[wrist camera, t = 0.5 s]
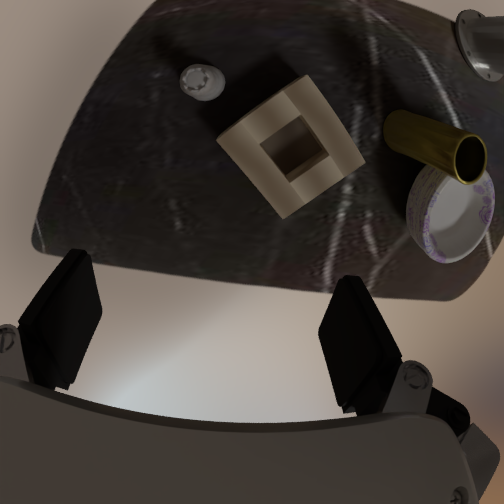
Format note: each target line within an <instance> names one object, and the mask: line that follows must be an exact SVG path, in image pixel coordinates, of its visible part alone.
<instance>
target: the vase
mask: <svg viewBox="0 0 504 504" xmlns="http://www.w3.org/2000/svg"><path fill="white" fill-rule="evenodd" d="M383 135H384V139H385V141H386V143H387V145H388V146H389V147H390V148H391V149H392V150H394V151H395V152H397V153H402V154H404V155H407V156H410V157H412V158H414V159H416V160H418V161H420V162H422V163H424V164H427V165H429V166H431V167H433V168H435V169H437V170H439V171H441V172H443V173H445V174H446V175H448V176H450V177H452V178H453V179H455V180H457V181H458V182H460V183H462V184H464V185H471V184H474V183H476V182H477V181H478V180H479V179H480V178H481V177H482V175H483V173H484V171H485V168H486V164H487V149H486V146H485V143H484V142H483V140H482V139H481V138H480V136H478V135H477V134H474V133H471V132H468V131H465V130H462V129H459V128H456V127H454V126H451V125H448V124H445V123H442V122H439V121H436V120H433V119H430V118H427V117H424V116H421V115H417V114H413V113H410V112H409V111H406V110H403V109H400V110H395V111H393V112H391V113H390V114H389V115H388V116H387V118H386V120H385V122H384V125H383Z"/></svg>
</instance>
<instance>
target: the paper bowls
mask: <svg viewBox="0 0 504 504" xmlns="http://www.w3.org/2000/svg"><path fill="white" fill-rule="evenodd" d="M494 203H495V192H494V187H493V183H492V180H491V178H490V176H489V174H488V173H487V171H486V170H485V171H484V173H483V175H482V177H481V178H480V179H479V180H478V181H477V182H476V183H474V184H471V185H464V184H462V183H460V182H458V181H457V180H455V179H453V178H452V177H450V176H448V175H446V174H445V173H443V172H441V171H439V170H437V169H435V168H433V167H431V166H429V165H426V166H425V167H424V168H423V169H422V170H421V171H420V173H419V174H418V176H417V177H416V179H415V181H414V183H413V186H412V188H411V190H410V193H409V196H408V201H407V206H406V221H407V227H408V230H409V232H410V234H411V236H412V237H413V239H414V240H415V241H416V242H417V244H418V245H419V246H420V247H421V248H422V249H423V250H424V251H425V253H426V254H427V255H428V256H429V257H431V258H432V259H433V260H435V261H437V262H441V263H451V262H455V261H458V260H460V259H462V258H464V257H465V256H467V255H468V254H469V253H470V252H471V251H473V250H474V248H475V247H476V246H477V245H478V244H479V243H480V241H481V240H482V238H483V237H484V235H485V233H486V231H487V229H488V227H489V225H490V222H491V219H492V216H493V211H494Z"/></svg>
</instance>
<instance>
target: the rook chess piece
mask: <svg viewBox="0 0 504 504" xmlns="http://www.w3.org/2000/svg"><path fill="white" fill-rule="evenodd" d="M180 86H181V88H182V90H183V91H184V92H185V93H187V94H188V95H190V96H192V97H194V98H195V99H197V100H201V101H208V100H213V99H214V98H216V97H218V96H219V95H220V94H221V92H222V91H223V90H224V86H225V78H224V75H223V74H222V72H221V71H220V70H219V69H217V68H216V67H214V66H209V65H202V64H195V65H191V66H189V67H188V68H186V69H185V70H184V71H183V73H182V74H181V77H180Z"/></svg>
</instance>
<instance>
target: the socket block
mask: <svg viewBox="0 0 504 504" xmlns="http://www.w3.org/2000/svg"><path fill="white" fill-rule="evenodd" d="M216 141H217V142H218V143H219V144H220V145H221V147H222V148H223V149H224V150H225V151H226V152H227V153H228V155H229V156H230V157H231V158H232V159H233V160H234V161H235V163H236V164H237V165H238V166H239V167H240V168H241V170H242V171H243V172H244V173H245V174H246V175H247V177H248V178H249V179H250V180H251V181H252V183H253V184H254V185H255V186H256V187H257V188H258V190H259V191H260V192H261V193H262V194H263V196H264V197H265V198H266V199H267V200H268V202H269V203H270V204H271V205H272V207H273V208H274V209H275V210H276V211H277V213H278V214H279V215H280V216H281V218H282V219H284V218H286V217H287V216H289V215H290V214H292V213H293V212H294V211H296V210H297V209H299V208H300V207H302V206H303V205H305V204H306V203H307V202H309V201H310V200H312V199H313V198H315V197H316V196H318V195H319V194H320V193H322V192H323V191H325V190H326V189H328V188H329V187H331V186H332V185H334V184H335V183H336V182H338V181H339V180H341V179H342V178H344V177H345V176H347V175H348V174H350V173H351V172H353V171H354V170H355V169H357V168H358V167H360V166H361V165H363V164H364V163H366V162H365V161H364V159H363V157H362V155H361V154H360V152H359V150H358V149H357V147H356V145H355V144H354V142H353V140H352V139H351V137H350V136H349V134H348V132H347V131H346V129H345V128H344V126H343V124H342V123H341V121H340V120H339V118H338V117H337V115H336V114H335V112H334V111H333V109H332V108H331V107H330V105H329V104H328V102H327V101H326V99H325V98H324V97H323V95H322V94H321V92H320V91H319V90H318V88H317V87H316V86H315V84H314V83H313V82H312V80H311V79H310V78H309V76H308V75H304V76H301V77H299V78H297V79H296V80H294V81H293V82H291V83H290V84H288V85H287V86H285V87H284V88H282V89H281V90H279V91H278V92H276V93H275V94H273V95H272V96H270V97H269V98H268V99H266V100H265V101H263V102H262V103H261V104H259V105H258V106H256V107H255V108H254V109H252V110H251V111H250V112H248V113H247V114H246V115H244V116H243V117H242V118H240V119H239V120H238V121H236V122H235V123H234V124H233V125H231V126H230V127H229V128H227V129H226V130H225V131H224V132H222V133H221V134H220V135H219V136H218V138H217V140H216Z"/></svg>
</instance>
